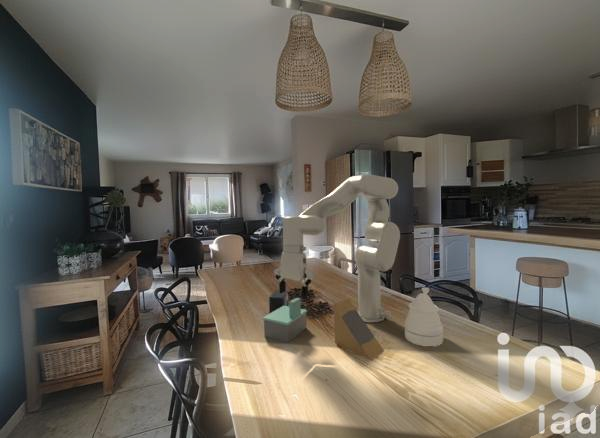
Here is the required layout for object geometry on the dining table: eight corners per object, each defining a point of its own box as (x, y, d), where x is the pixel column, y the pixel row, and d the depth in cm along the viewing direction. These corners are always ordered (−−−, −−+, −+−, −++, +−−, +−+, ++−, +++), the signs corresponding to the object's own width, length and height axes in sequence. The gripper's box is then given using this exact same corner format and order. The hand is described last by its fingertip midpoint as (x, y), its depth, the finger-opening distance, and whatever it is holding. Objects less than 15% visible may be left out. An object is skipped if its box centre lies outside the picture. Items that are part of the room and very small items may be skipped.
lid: (307, 314, 114) (306, 295, 113) (288, 328, 101) (287, 306, 101) (283, 309, 119) (283, 291, 119) (262, 322, 107) (262, 301, 107)
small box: (283, 321, 122) (282, 297, 122) (268, 320, 123) (268, 296, 123) (289, 312, 132) (288, 290, 132) (275, 311, 134) (275, 289, 133)
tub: (306, 329, 114) (306, 312, 113) (288, 343, 102) (287, 324, 102) (284, 324, 119) (283, 307, 119) (264, 337, 107) (264, 319, 107)
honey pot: (413, 327, 113) (413, 282, 112) (448, 337, 104) (448, 289, 103) (398, 338, 104) (398, 290, 103) (435, 350, 95) (434, 297, 94)
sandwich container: (371, 361, 90) (370, 314, 89) (334, 344, 101) (333, 303, 100) (385, 351, 96) (385, 307, 95) (348, 336, 107) (348, 297, 106)
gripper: (318, 249, 106) (318, 295, 106) (279, 246, 114) (280, 288, 115) (308, 252, 99) (308, 300, 100) (268, 248, 108) (268, 293, 108)
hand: (293, 294), depth 107 cm, fingers open, 9 cm apart
